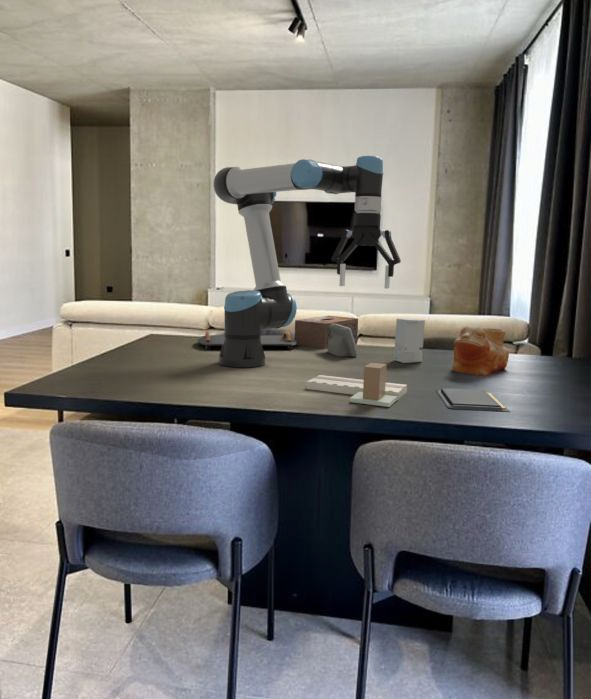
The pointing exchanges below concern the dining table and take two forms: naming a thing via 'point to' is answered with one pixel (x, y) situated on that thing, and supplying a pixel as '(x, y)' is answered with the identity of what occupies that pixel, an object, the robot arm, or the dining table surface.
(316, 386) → the pad
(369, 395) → the stub
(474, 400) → the wallet
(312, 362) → the dining table surface
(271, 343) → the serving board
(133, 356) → the dining table surface
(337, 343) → the digital clock
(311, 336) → the tissue box cover
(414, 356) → the skincare box
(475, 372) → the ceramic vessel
